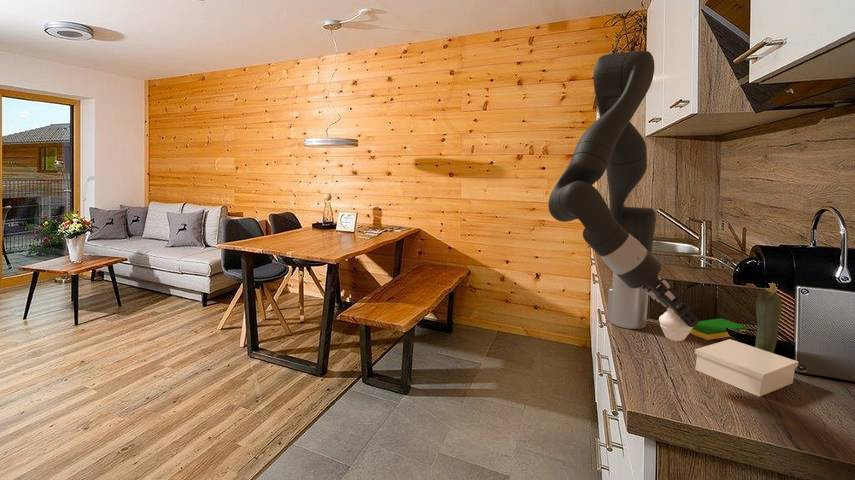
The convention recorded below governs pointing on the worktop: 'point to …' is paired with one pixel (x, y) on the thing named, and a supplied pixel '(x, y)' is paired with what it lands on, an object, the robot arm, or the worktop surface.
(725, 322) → the dish sponge
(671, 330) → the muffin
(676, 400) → the worktop surface
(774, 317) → the vegetable
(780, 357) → the cardboard box
